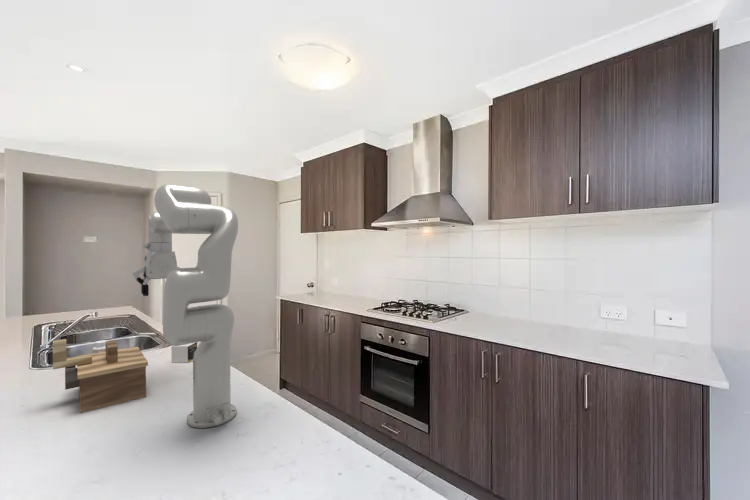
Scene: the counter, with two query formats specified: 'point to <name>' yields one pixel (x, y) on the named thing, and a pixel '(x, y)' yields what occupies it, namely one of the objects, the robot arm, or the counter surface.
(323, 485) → the counter surface
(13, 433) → the counter surface
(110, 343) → the lid
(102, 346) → the supplement bottle
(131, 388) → the brown wooden box
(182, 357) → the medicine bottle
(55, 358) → the bent tan strip
